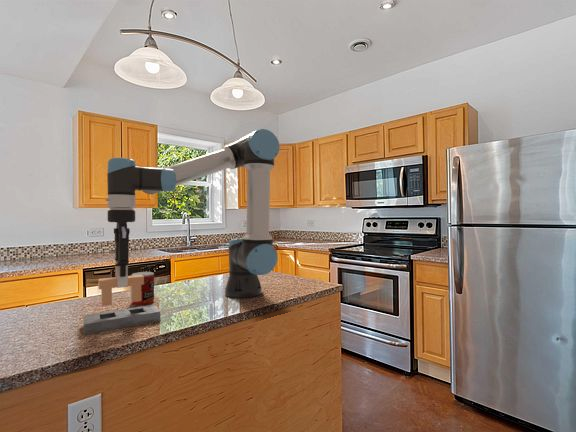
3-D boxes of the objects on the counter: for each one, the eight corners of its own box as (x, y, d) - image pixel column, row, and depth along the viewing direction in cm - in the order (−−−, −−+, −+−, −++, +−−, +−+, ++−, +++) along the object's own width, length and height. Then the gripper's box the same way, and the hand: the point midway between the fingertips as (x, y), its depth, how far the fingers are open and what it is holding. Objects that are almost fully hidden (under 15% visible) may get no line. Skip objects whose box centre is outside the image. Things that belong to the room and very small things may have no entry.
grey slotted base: (154, 313, 105) (154, 304, 105) (160, 320, 98) (160, 311, 98) (83, 325, 94) (83, 315, 94) (84, 335, 86) (84, 324, 86)
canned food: (145, 306, 114) (145, 275, 114) (126, 304, 115) (126, 275, 115) (158, 300, 121) (158, 272, 121) (140, 299, 123) (140, 271, 123)
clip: (141, 297, 100) (141, 259, 100) (143, 300, 98) (143, 260, 97) (98, 303, 94) (98, 262, 94) (99, 306, 91) (98, 263, 91)
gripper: (105, 209, 100) (105, 282, 100) (109, 208, 87) (109, 293, 87) (131, 209, 105) (131, 279, 105) (139, 209, 91) (139, 289, 91)
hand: (121, 285), depth 96 cm, fingers closed on clip, 3 cm apart
